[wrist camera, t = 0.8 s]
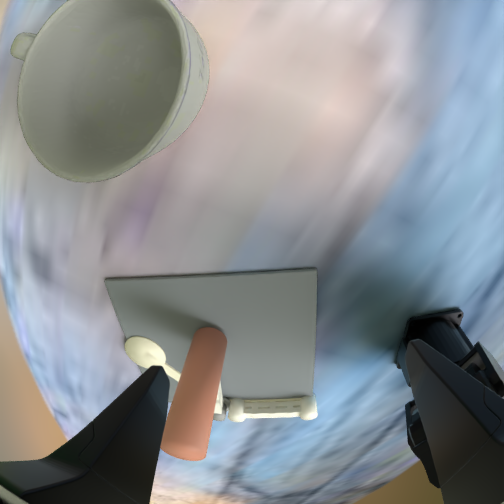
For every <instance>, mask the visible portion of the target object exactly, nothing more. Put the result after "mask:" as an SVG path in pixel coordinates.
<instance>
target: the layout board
mask: <svg viewBox="0 0 504 504" xmlns="http://www.w3.org/2000/svg"><path fill="white" fill-rule="evenodd" d="M104 282H105V285H106V288H107V291H108V293H109V296H110V299H111V301H112V304H113V307H114V309H115V312H116V315H117V317H118V320H119V322H120V325H121V327H122V330H123V332H124V334H125V337H126V339H127V341H126V343H125V351H126V353H127V355H128V356H129V358H130V359H131V360H132V361H133V362H135V363H136V364H138V366H139V368H140V370H141V372H142V374H143V373H144V372H145V371H146V370H147V369H148V368H149V367H150V366H152V365H160V366H162V367H163V368H164V370H165V372H166V374H167V376H168V378H169V381H170V389H169V399H168V402H172V401H173V397H174V394H175V391H176V388H177V385H178V382H179V379H180V376H181V372H182V369H183V366H184V363H185V360H186V357H187V354H188V351H189V348H190V345H191V342H192V339H193V336H194V333H195V332H196V331H197V330H198V329H200V328H204V327H211V328H215V329H217V330H219V331H221V332H222V333H223V334H224V335H225V336H226V338H227V347H226V352H225V358H224V363H223V368H222V373H221V379H220V382H221V389H222V396H223V403H225V404H226V405H227V411H228V410H229V406H230V402H231V400H232V399H234V398H241V399H243V400H244V402H245V403H252V402H258V403H259V402H271V401H275V402H287V401H300V400H301V399H302V397H304V396H313V381H314V364H315V343H316V311H317V269H316V268H313V269H298V270H282V271H266V272H249V273H231V274H212V275H192V276H170V277H146V278H119V279H106V280H105V281H104Z"/></svg>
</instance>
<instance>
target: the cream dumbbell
mask: <svg viewBox="0 0 504 504" xmlns="http://www.w3.org/2000/svg"><path fill="white" fill-rule="evenodd" d="M297 416H300V418H301V419H303V420H312V419H314V418H316V417H317V405H316V396H315V395H314V394H313V396H304V397H302V399H301V400H300V401H287V402H275V401H271V402H259V403H258V402H252V403H245V402H244V400H243V399H241V398H234V399H232V400H231V402H230V406H229V413H228V418H229V420H231V421H233V422H242V421H244V420H245V418H276V417H297Z"/></svg>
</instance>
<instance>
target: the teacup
mask: <svg viewBox="0 0 504 504" xmlns="http://www.w3.org/2000/svg"><path fill="white" fill-rule="evenodd" d="M11 55H12V56H14V57H16V58H18V59H21V60H24V63H23V66H22V70H21V74H20V80H19V86H18V96H17V107H18V115H19V121H20V125H21V128H22V131H23V135H24V138H25V139H26V142H27V144H28V146H29V148H30V149H31V151H32V152H33V154H34V155H35V156H36V158H37V159H38V161H39V162H40V163H41V164H42V165H43V166H44V167H46V168H47V169H48V170H49V171H51V172H52V173H54V174H55V175H57V176H59V177H62V178H64V179H67V180H70V181H74V182H85V183H92V182H99V181H104V180H108V179H111V178H114V177H117V176H119V175H121V174H122V173H124V172H126V171H128V170H129V169H131V168H132V167H134V166H136V165H137V164H138V163H140V162H141V161H142V160H144V159H146V158H148V157H150V156H152V155H154V154H155V153H157V152H159V151H161V150H162V149H164V148H165V147H167V146H168V145H170V144H171V143H172V142H174V141H175V140H176V139H177V138H178V137H179V136H180V135H181V134H182V133H183V132H184V131H185V130H186V129H187V128H188V127H189V125H190V124H191V123H192V121H193V120H194V119H195V117H196V115H197V114H198V112H199V110H200V108H201V106H202V104H203V101H204V98H205V95H206V92H207V87H208V82H209V60H208V55H207V52H206V48H205V46H204V43H203V41H202V39H201V37H200V35H199V34H198V32H197V31H196V29H195V28H194V27H193V25H192V24H191V23H190V22H189V21H188V20H187V19H186V17H185V16H184V15H183V14H182V13H181V12H180V11H178V9H177V8H176V6H175V5H174V4H173V3H172V2H171V1H170V0H68V1H67V2H66V3H64V4H63V5H62V6H61V7H59V8H58V9H57V10H56V11H55V12H54V13H53V14H52V15H51V17H50V18H49V19H48V20H47V21H46V22H45V24H44V25H43V27H42V28H41V29H40V31H39V32H38V34H32V33H20V34H19V35H17V36H16V38H15V39H14V42H13V44H12V46H11Z"/></svg>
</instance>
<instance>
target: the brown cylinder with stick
mask: <svg viewBox="0 0 504 504" xmlns="http://www.w3.org/2000/svg"><path fill="white" fill-rule="evenodd" d="M226 347H227V338H226V336H225V335H224V334H223V333H222V332H221V331H219V330H217V329H215V328H211V327H204V328H200V329H198V330H197V331H196V332H195V333H194V336H193V339H192V342H191V345H190V348H189V351H188V354H187V357H186V360H185V363H184V366H183V369H182V372H181V376H180V379H179V382H178V385H177V388H176V391H175V394H174V397H173V401H172V404H171V407H170V410H169V413H168V417H167V420H166V423H165V428H164V432H163V437H162V442H161V446H160V448H161V449H162V450H163V451H164V452H166V453H167V454H169V455H171V456H173V457H176V458H179V459H183V460H189V461H198V460H202V459H204V458H205V457H206V453H207V448H208V442H209V437H210V432H211V426H212V421H213V420H216V421H223V420H225V417H226V411H227V405H226V404H225V403H223V396H222V389H221V382H220V379H221V373H222V368H223V363H224V358H225V352H226Z"/></svg>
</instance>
